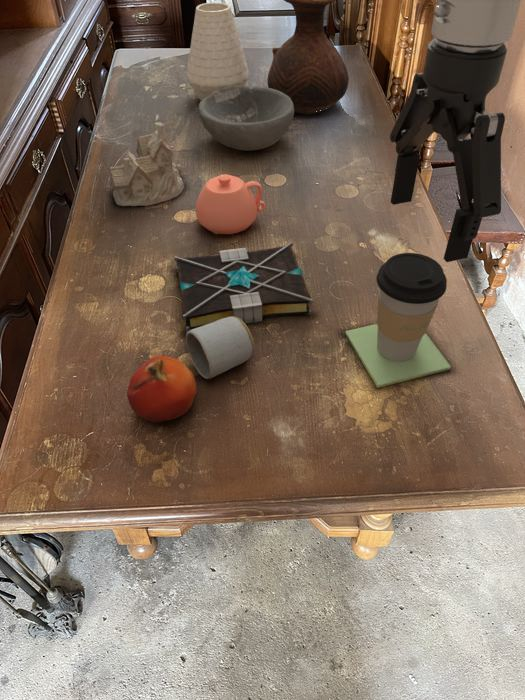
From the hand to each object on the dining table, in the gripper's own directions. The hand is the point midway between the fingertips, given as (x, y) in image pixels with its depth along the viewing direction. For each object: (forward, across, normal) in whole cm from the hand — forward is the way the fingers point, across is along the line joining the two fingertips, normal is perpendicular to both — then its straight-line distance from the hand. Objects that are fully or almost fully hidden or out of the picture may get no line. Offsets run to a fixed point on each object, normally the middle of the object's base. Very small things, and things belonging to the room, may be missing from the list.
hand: (426, 228), depth 68 cm
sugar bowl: (+22, -43, -15) cm, 51 cm away
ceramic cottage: (+22, -63, -29) cm, 73 cm away
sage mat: (+22, 0, 0) cm, 22 cm away
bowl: (+22, -77, -2) cm, 80 cm away
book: (+22, -21, -19) cm, 36 cm away
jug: (+22, -94, +20) cm, 99 cm away
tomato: (+22, 0, -36) cm, 43 cm away
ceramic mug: (+22, -7, -27) cm, 36 cm away
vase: (+21, -106, -2) cm, 109 cm away
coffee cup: (+22, 0, 0) cm, 22 cm away
